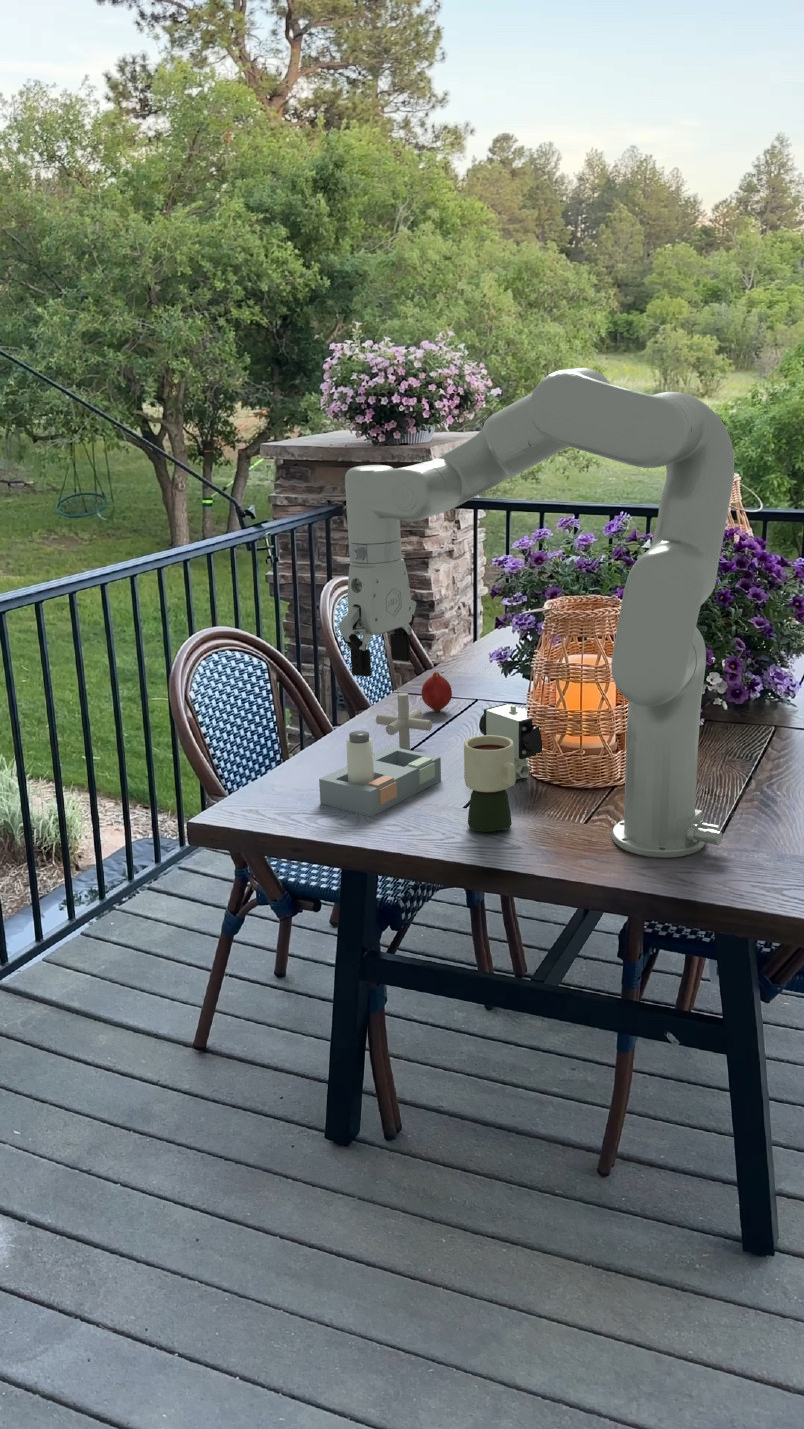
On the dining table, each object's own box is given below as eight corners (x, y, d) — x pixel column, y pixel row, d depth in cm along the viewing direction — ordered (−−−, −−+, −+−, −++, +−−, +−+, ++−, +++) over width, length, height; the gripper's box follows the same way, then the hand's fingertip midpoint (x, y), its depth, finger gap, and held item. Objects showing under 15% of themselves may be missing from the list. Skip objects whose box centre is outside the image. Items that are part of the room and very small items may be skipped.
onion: (421, 707, 225) (420, 667, 223) (451, 706, 225) (450, 666, 223) (422, 716, 220) (421, 675, 217) (452, 715, 220) (452, 674, 217)
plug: (380, 800, 180) (377, 732, 176) (364, 808, 176) (361, 739, 173) (360, 795, 182) (357, 728, 179) (343, 803, 179) (340, 735, 175)
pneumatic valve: (527, 790, 182) (527, 717, 178) (478, 770, 191) (477, 700, 187) (553, 782, 185) (553, 709, 181) (503, 763, 194) (503, 694, 190)
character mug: (533, 833, 166) (533, 747, 162) (494, 846, 162) (493, 758, 158) (485, 810, 174) (484, 728, 170) (447, 822, 170) (445, 738, 166)
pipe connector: (443, 744, 204) (442, 689, 201) (417, 762, 195) (415, 705, 192) (392, 737, 208) (390, 683, 205) (365, 754, 200) (363, 698, 197)
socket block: (442, 780, 187) (442, 755, 185) (372, 817, 173) (371, 790, 172) (391, 769, 193) (390, 744, 191) (320, 803, 179) (318, 777, 178)
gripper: (358, 564, 159) (366, 684, 164) (430, 545, 173) (435, 657, 178) (316, 561, 164) (325, 678, 169) (390, 542, 177) (396, 652, 182)
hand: (381, 667), depth 173 cm, fingers open, 9 cm apart
